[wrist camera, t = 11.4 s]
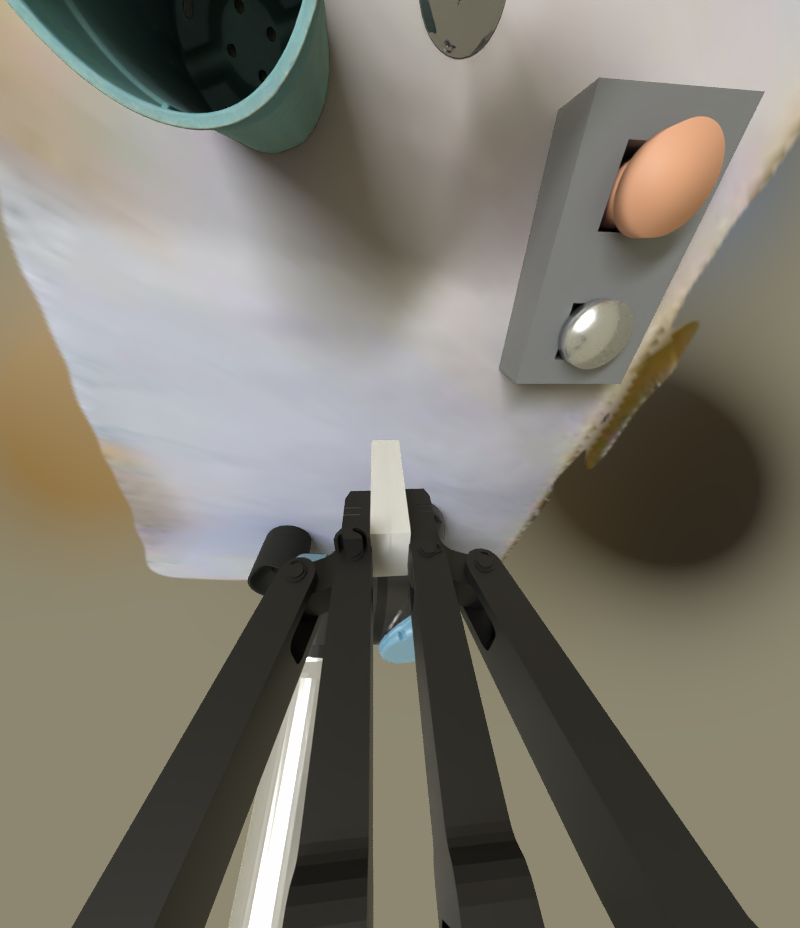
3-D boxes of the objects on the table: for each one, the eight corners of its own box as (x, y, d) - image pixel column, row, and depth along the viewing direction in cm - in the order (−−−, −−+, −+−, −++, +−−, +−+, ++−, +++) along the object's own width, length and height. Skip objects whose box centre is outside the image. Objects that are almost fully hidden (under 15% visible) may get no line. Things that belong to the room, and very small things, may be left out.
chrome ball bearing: (580, 353, 39) (614, 369, 33) (531, 352, 39) (557, 369, 33) (602, 294, 35) (646, 301, 29) (548, 292, 34) (582, 299, 29)
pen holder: (270, 518, 55) (252, 563, 47) (318, 529, 58) (309, 574, 50) (261, 547, 60) (243, 592, 51) (306, 556, 62) (296, 601, 54)
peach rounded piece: (631, 242, 31) (688, 239, 25) (569, 239, 30) (614, 236, 25) (668, 148, 27) (746, 119, 21) (598, 143, 26) (659, 113, 21)
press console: (591, 369, 42) (620, 384, 37) (498, 368, 41) (515, 383, 36) (696, 120, 28) (764, 91, 23) (558, 110, 27) (599, 77, 22)
